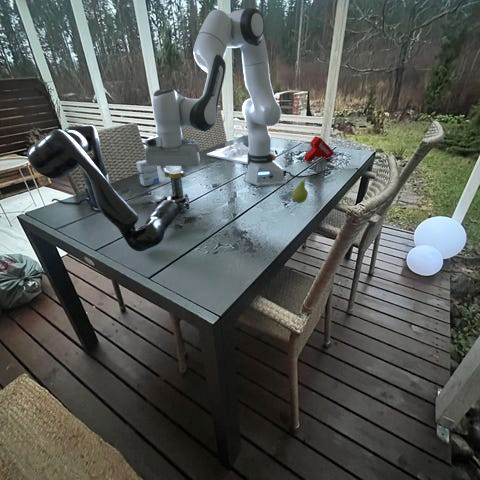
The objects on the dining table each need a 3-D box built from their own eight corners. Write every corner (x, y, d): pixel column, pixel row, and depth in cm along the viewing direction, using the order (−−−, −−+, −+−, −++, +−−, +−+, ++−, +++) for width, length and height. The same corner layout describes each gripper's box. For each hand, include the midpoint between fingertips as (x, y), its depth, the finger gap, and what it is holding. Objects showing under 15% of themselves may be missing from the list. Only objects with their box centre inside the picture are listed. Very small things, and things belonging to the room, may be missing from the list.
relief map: (248, 164, 168) (248, 156, 165) (206, 155, 186) (206, 147, 183) (271, 154, 186) (271, 146, 183) (231, 147, 204) (231, 140, 201)
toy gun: (305, 158, 165) (319, 136, 162) (300, 157, 168) (315, 135, 166) (320, 172, 177) (334, 152, 174) (316, 170, 180) (329, 151, 177)
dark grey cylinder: (174, 210, 115) (168, 172, 106) (183, 208, 117) (179, 170, 108) (176, 214, 112) (171, 175, 103) (186, 212, 113) (181, 174, 104)
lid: (166, 175, 106) (166, 171, 105) (178, 172, 109) (177, 169, 108) (172, 179, 103) (171, 175, 102) (184, 176, 105) (183, 172, 105)
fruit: (288, 200, 123) (290, 174, 116) (302, 197, 125) (305, 172, 119) (296, 206, 118) (299, 179, 111) (310, 203, 120) (314, 177, 114)
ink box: (155, 180, 146) (151, 158, 140) (159, 182, 143) (156, 160, 136) (140, 184, 141) (135, 161, 134) (145, 186, 138) (140, 163, 131)
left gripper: (182, 206, 96) (196, 187, 110) (144, 203, 98) (163, 186, 112) (185, 224, 100) (198, 204, 114) (148, 221, 102) (165, 202, 116)
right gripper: (200, 138, 101) (203, 174, 108) (146, 137, 102) (153, 173, 109) (196, 142, 95) (200, 179, 103) (140, 141, 97) (147, 178, 104)
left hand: (180, 195), depth 113 cm, fingers closed on dark grey cylinder, 4 cm apart
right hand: (175, 176), depth 106 cm, fingers closed on lid, 5 cm apart
